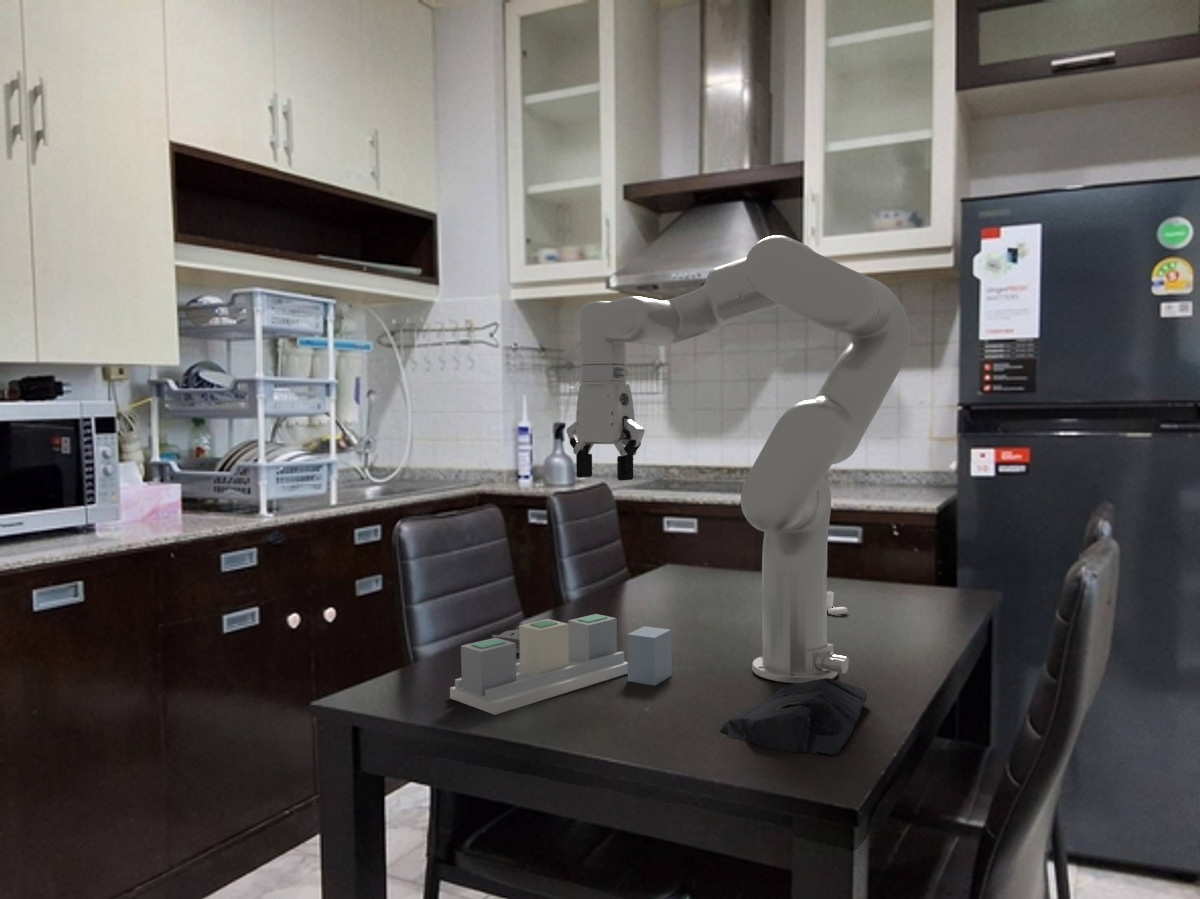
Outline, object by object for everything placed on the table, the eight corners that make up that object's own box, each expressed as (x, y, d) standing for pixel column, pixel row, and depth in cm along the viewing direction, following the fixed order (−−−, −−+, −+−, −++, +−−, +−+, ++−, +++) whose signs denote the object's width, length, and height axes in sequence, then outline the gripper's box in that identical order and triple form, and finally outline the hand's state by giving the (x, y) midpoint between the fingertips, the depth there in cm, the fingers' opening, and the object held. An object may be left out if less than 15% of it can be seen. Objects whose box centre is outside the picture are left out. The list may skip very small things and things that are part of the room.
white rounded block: (852, 618, 174) (852, 597, 173) (810, 619, 174) (810, 597, 174) (841, 608, 182) (841, 588, 182) (801, 608, 183) (801, 588, 182)
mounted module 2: (617, 656, 140) (616, 617, 140) (589, 665, 136) (588, 623, 136) (596, 651, 144) (596, 612, 143) (568, 659, 139) (568, 619, 139)
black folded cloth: (886, 709, 122) (887, 674, 122) (833, 765, 103) (833, 724, 103) (778, 691, 130) (778, 658, 130) (710, 740, 112) (710, 701, 111)
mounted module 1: (516, 686, 126) (515, 641, 126) (481, 696, 122) (481, 650, 122) (496, 679, 129) (495, 636, 129) (461, 689, 125) (460, 644, 125)
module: (671, 675, 137) (671, 629, 137) (655, 685, 132) (654, 637, 132) (645, 671, 139) (644, 626, 139) (627, 681, 134) (627, 634, 134)
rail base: (630, 672, 138) (630, 653, 138) (494, 714, 120) (494, 693, 120) (584, 660, 146) (584, 642, 145) (450, 698, 127) (449, 677, 127)
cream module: (569, 671, 133) (568, 622, 133) (540, 679, 129) (539, 629, 129) (548, 665, 136) (547, 617, 136) (520, 673, 132) (519, 624, 132)
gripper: (657, 375, 149) (657, 479, 150) (583, 378, 161) (584, 475, 162) (625, 374, 144) (626, 482, 145) (552, 377, 156) (553, 477, 157)
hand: (604, 478), depth 153 cm, fingers open, 9 cm apart
